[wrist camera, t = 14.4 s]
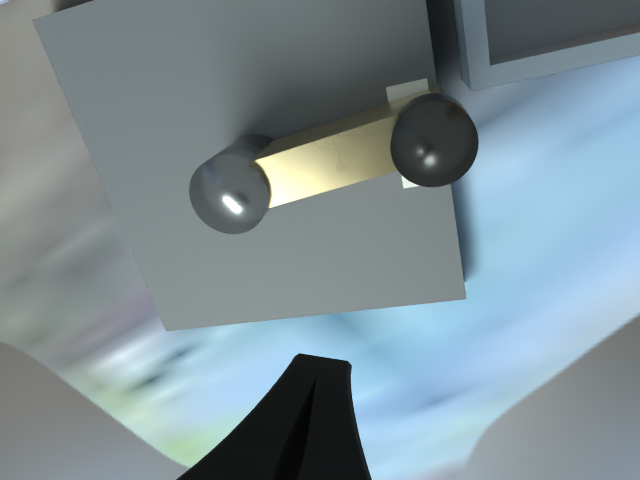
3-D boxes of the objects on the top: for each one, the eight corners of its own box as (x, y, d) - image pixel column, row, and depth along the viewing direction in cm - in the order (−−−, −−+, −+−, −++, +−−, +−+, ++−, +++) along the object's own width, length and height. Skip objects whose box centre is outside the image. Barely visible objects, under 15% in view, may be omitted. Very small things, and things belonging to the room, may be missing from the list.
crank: (241, 206, 19) (193, 260, 15) (215, 145, 18) (156, 184, 14) (468, 139, 16) (488, 181, 12) (451, 64, 16) (465, 81, 11)
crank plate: (53, 19, 19) (30, 20, 17) (411, -94, 15) (411, -103, 14) (176, 317, 24) (164, 332, 23) (463, 284, 20) (466, 300, 19)
